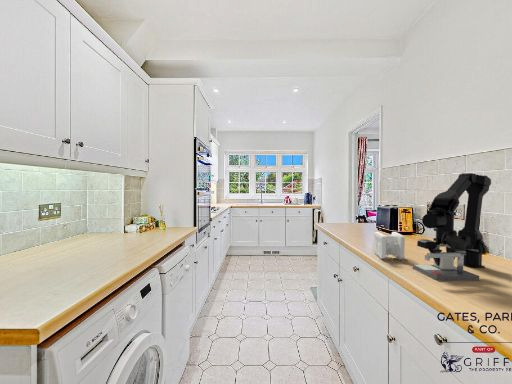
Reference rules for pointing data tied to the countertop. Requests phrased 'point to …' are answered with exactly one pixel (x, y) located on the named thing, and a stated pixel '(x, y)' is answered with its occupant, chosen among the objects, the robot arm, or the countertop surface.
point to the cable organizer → (389, 245)
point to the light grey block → (446, 263)
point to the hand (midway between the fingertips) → (443, 265)
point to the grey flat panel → (444, 273)
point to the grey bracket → (458, 254)
